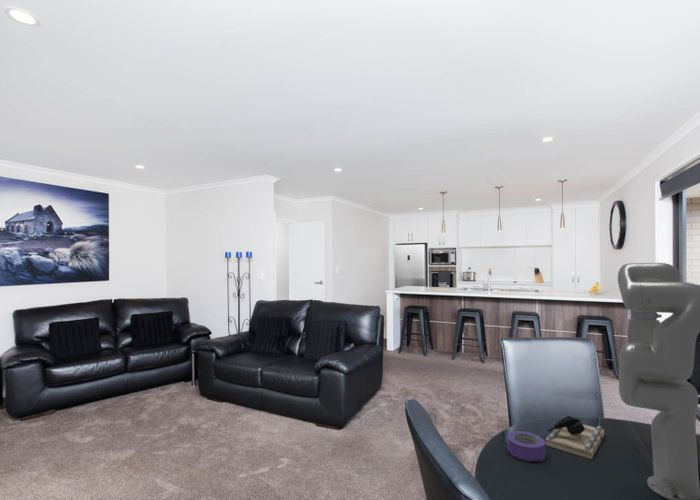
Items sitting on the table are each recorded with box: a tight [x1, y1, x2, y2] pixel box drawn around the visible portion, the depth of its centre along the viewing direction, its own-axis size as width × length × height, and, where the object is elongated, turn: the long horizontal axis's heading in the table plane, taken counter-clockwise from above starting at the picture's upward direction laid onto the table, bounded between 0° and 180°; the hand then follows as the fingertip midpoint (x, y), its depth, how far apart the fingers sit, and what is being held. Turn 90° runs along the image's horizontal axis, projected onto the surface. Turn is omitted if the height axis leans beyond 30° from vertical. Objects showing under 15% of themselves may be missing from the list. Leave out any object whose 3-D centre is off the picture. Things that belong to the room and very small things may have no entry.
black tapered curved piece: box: [547, 415, 585, 439], centre depth 131 cm, size 6×8×12 cm
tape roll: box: [506, 430, 546, 462], centre depth 124 cm, size 12×12×5 cm
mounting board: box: [544, 424, 606, 460], centre depth 133 cm, size 24×14×3 cm, turn 136°
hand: (646, 365), depth 133 cm, fingers closed
